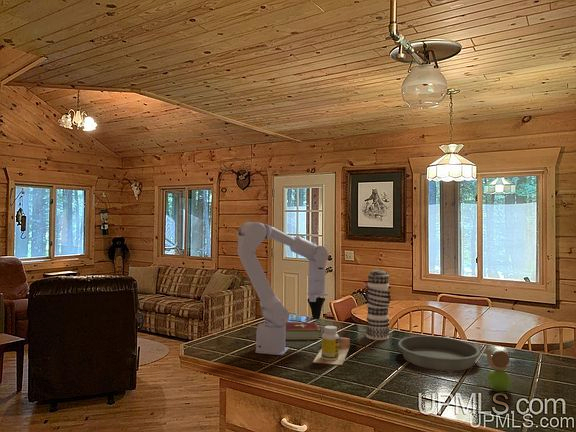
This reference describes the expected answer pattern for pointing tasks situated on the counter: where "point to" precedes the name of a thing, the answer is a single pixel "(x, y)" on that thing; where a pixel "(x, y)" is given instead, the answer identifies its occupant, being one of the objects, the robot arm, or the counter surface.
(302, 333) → the hardcover book
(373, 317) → the decorative candle
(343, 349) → the strip
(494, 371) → the snail figurine
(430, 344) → the cake pan
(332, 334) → the supplement bottle
